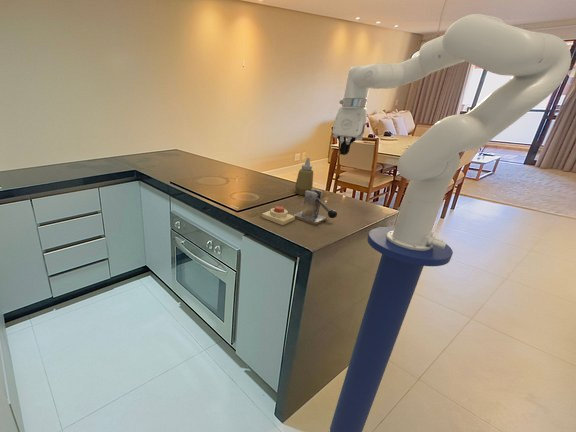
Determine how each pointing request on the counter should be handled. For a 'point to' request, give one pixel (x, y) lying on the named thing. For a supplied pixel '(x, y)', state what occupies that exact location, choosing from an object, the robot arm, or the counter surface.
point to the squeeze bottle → (304, 178)
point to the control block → (278, 217)
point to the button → (279, 209)
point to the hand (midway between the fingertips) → (343, 154)
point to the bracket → (311, 208)
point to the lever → (330, 212)
